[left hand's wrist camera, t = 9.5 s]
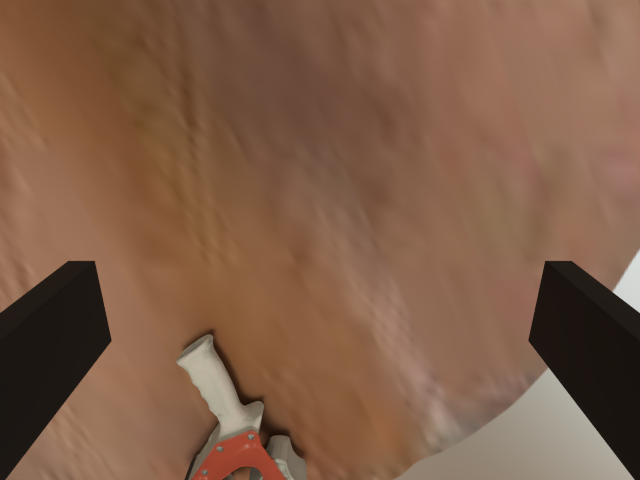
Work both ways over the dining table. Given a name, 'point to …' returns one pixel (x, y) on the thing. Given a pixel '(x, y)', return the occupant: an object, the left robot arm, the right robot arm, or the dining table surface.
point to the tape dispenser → (234, 426)
